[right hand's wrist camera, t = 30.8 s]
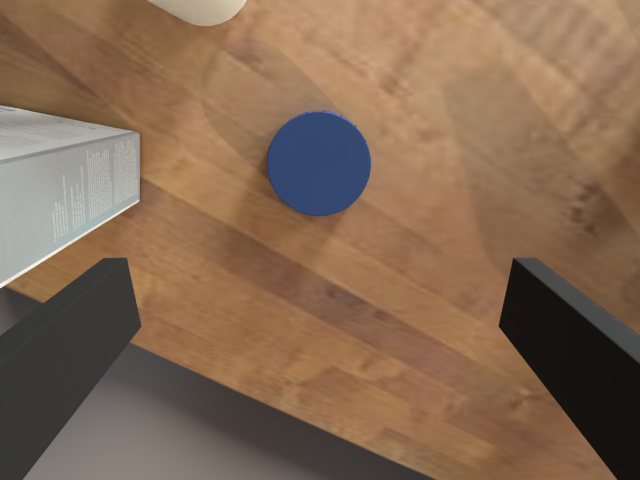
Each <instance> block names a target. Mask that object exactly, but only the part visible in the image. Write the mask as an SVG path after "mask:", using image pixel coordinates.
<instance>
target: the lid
mask: <svg viewBox="0 0 640 480" xmlns="http://www.w3.org/2000/svg"><path fill="white" fill-rule="evenodd" d="M269 148H270V149H269V152H268V158H267V168H268V175H269V179H270V182H271V184H272V187H273V188H274V190H275V192H276V193H277V195H278V196H279V197H280V199H281V200H282V201H283V202H284V203H286V204H287V205H288V206H289V207H291V208H292V209H294V210H296V211H298V212H301V213H304V214H307V215H313V216H325V215H331V214H334V213H337V212H340V211H342V210H344V209H346V208H347V207H349V206H350V205H351V204H353V203H354V202H355V201H356V200H357V199H358V198H359V196H360V195H361V194H362V192H363V190H364V189H365V187H366V184H367V182H368V179H369V176H370V169H371V157H370V153H369V149H368V146H367V143H366V140H365V139H364V137H363V136H362V134H361V133H360V132H359V130H358V129H357V128H356V126H355V125H353V124H352V123H351V122H349V121H348V120H347V119H345V118H343V117H342V116H341V115H337V114H335V113H331V112H327V111H325V110H324V111H312V112H306V113H304V114H301V115H298V116H297V117H295V118H293V119H292V118H291V119H290V121H289V122H287V123H286V124H285V125H284V126H283V127H282V128H281V129H280V130H279V131H277V134H276V136H275V137H274V139H273V141H272V143H271V145H270V147H269Z"/></svg>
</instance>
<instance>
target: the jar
mask: <svg viewBox="0 0 640 480" xmlns="http://www.w3.org/2000/svg"><path fill="white" fill-rule="evenodd" d="M147 1H149V2H151V3H152V4H154V5H156V6H158V7H160V8H161V9H163V10H165V11H167V12H169V13H171V14H172V15H174V16H176V17H178V18H180V19H181V20H183V21H185V22H188V23H190V24H194V25H198V26H214V25H218V24H221V23H224V22H226V21H227V20H229V19H231V18H232V17H233V16H235V15H236V14H237V13H238V12H239V11H240V9H241V8H242V7H243V5H244V4H245V2H246V0H147Z"/></svg>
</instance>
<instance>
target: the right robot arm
mask: <svg viewBox="0 0 640 480" xmlns="http://www.w3.org/2000/svg"><path fill="white" fill-rule="evenodd" d="M140 327H141V322H140V318H139V313H138V308H137V304H136V299H135V294H134V290H133V285H132V281H131V276H130V271H129V267H128V262H127V258H103V259H102V260H101V261H99V262H98V263H97V264H95V265H94V266H93V267H91V268H90V269H89V270H87V271H86V272H85V273H83V274H82V275H81V276H79V277H78V278H77V279H75V280H74V281H73V282H71V283H70V284H69V285H67V286H66V287H65V288H63V289H62V290H61V291H59V292H58V293H57V294H55V295H54V296H53V297H51V298H50V299H49V300H47V301H46V302H45V303H43V304H42V305H41V306H39V307H38V308H37V309H35V310H34V311H33V312H31V313H30V314H29V315H27V316H26V317H25V318H23V319H22V320H21V321H19V322H18V323H17V324H15V325H14V326H13V327H11V328H10V329H9V330H7V331H6V332H5V333H3V334H2V335H1V336H0V480H23V478H24V477H25V476H26V475H27V473H28V472H29V471H30V469H31V468H32V467H33V466H34V464H35V463H36V462H37V460H38V459H39V458H40V457H41V455H42V454H43V453H44V451H45V450H46V449H47V447H48V446H49V445H50V444H51V442H52V441H53V440H54V438H55V437H56V436H57V435H58V433H59V432H60V431H61V429H62V428H63V427H64V426H65V424H66V423H67V422H68V420H69V419H70V418H71V417H72V415H73V414H74V413H75V411H76V410H77V409H78V407H79V406H80V405H81V404H82V402H83V401H84V400H85V398H86V397H87V396H88V394H89V393H90V392H91V391H92V389H93V388H94V387H95V386H96V384H97V383H98V382H99V380H100V379H101V378H102V376H103V375H104V374H105V373H106V371H107V370H108V369H109V367H110V366H111V365H112V364H113V362H114V361H115V360H116V358H117V357H118V356H119V355H120V353H121V352H122V351H123V349H124V348H125V347H126V346H127V344H128V343H129V342H130V340H131V339H132V338H133V336H134V335H135V334H136V333H137V331H138V330H139V329H140ZM499 327H500V329H501V330H502V331H503V333H504V334H505V335H506V336H507V338H508V339H509V340H510V342H511V343H512V344H513V346H514V347H515V348H516V349H517V351H518V352H519V353H520V355H521V356H522V357H523V358H524V360H525V361H526V362H527V364H528V365H529V366H530V367H531V369H532V370H533V371H534V373H535V374H536V375H537V376H538V378H539V379H540V380H541V382H542V383H543V384H544V386H545V387H546V388H547V389H548V391H549V392H550V393H551V395H552V396H553V397H554V398H555V400H556V401H557V402H558V404H559V405H560V406H561V407H562V409H563V410H564V411H565V413H566V414H567V415H568V417H569V418H570V419H571V420H572V422H573V423H574V424H575V426H576V427H577V428H578V429H579V431H580V432H581V433H582V435H583V436H584V437H585V438H586V440H587V441H588V442H589V444H590V445H591V446H592V447H593V449H594V450H595V451H596V453H597V454H598V455H599V457H600V458H601V459H602V460H603V462H604V463H605V464H606V466H607V467H608V468H609V469H610V471H611V472H612V473H613V475H614V476H615V477H616V478H617V480H640V336H639V335H638V334H637V333H635V332H634V331H633V330H631V329H630V328H629V327H627V326H626V325H625V324H623V323H622V322H621V321H619V320H618V319H617V318H615V317H614V316H613V315H611V314H610V313H609V312H607V311H606V310H605V309H603V308H602V307H601V306H599V305H598V304H597V303H595V302H594V301H593V300H591V299H590V298H589V297H587V296H586V295H585V294H583V293H582V292H581V291H579V290H578V289H577V288H575V287H574V286H573V285H571V284H570V283H569V282H567V281H566V280H565V279H563V278H562V277H561V276H559V275H558V274H557V273H555V272H554V271H553V270H551V269H550V268H549V267H547V266H546V265H545V264H543V263H542V262H541V261H539V260H538V259H537V258H513V262H512V267H511V271H510V276H509V281H508V285H507V290H506V294H505V299H504V304H503V308H502V313H501V318H500V322H499Z"/></svg>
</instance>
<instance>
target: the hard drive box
mask: <svg viewBox="0 0 640 480" xmlns="http://www.w3.org/2000/svg"><path fill="white" fill-rule="evenodd" d="M139 198H140V134H139V133H138V132H135V131H130V130H124V129H118V128H113V127H109V126H104V125H99V124H93V123H87V122H83V121H78V120H73V119H68V118H63V117H58V116H53V115H47V114H42V113H37V112H32V111H28V110H23V109H18V108H13V107H7V106H1V105H0V288H1V287H3V286H5V285H6V284H8V283H9V282H11V281H13V280H14V279H16V278H18V277H19V276H21V275H22V274H24V273H25V272H27V271H29V270H30V269H32V268H33V267H35V266H37V265H38V264H40V263H41V262H43V261H45V260H46V259H48V258H49V257H51V256H53V255H54V254H56V253H57V252H59V251H61V250H62V249H64V248H65V247H67V246H69V245H70V244H72V243H73V242H75V241H77V240H78V239H80V238H81V237H83V236H85V235H86V234H88V233H89V232H91V231H93V230H94V229H96V228H97V227H99V226H101V225H102V224H104V223H106V222H107V221H109V220H110V219H112V218H114V217H115V216H117V215H118V214H120V213H122V212H123V211H125V210H126V209H128V208H130V207H131V206H133V205H134V204H136V203H138V202H139Z"/></svg>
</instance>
